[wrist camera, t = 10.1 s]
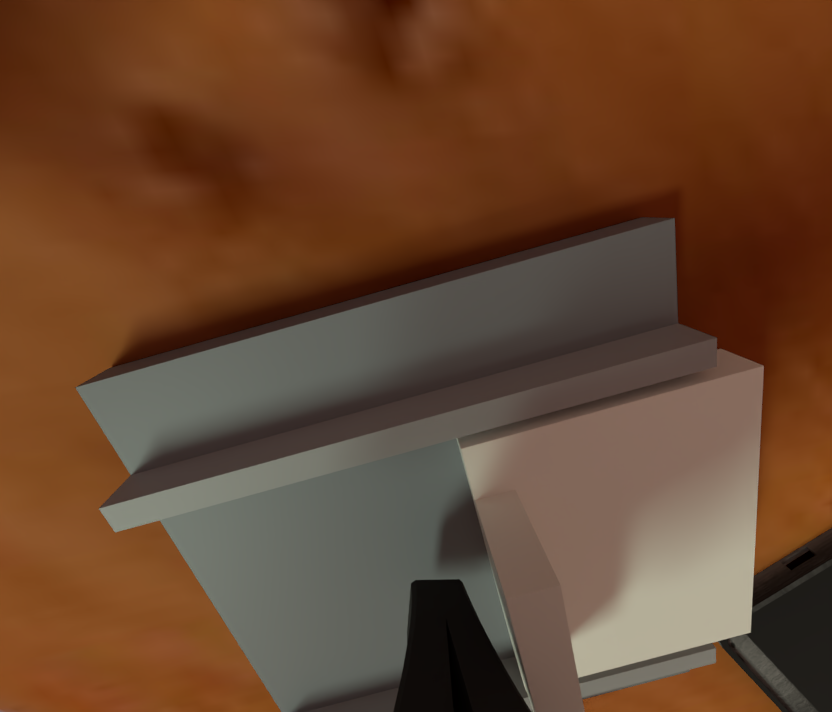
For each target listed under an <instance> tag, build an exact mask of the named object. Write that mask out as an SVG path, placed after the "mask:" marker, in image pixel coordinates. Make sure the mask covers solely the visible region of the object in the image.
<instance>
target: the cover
mask: <svg viewBox="0 0 832 712" xmlns="http://www.w3.org/2000/svg"><path fill="white" fill-rule="evenodd" d="M763 375H764V366H763V365H761V364H758V363H756V362H753V361H751V360H748V359H746V358H743V357H741V356H738V355H736V354H733V353H731V352H728V351H726V350H723V349H718V350H717V367H714V368H711V369H707V370H703V371H700V372H696V373H692V374H689V375H685V376H682V377H678V378H674V379H671V380H667V381H663V382H660V383H656V384H652V385H649V386H645V387H642V388H638V389H634V390H631V391H627V392H623V393H620V394H616V395H613V396H609V397H605V398H602V399H598V400H594V401H591V402H587V403H583V404H580V405H576V406H573V407H569V408H565V409H562V410H558V411H554V412H551V413H547V414H543V415H540V416H536V417H533V418H529V419H525V420H522V421H518V422H514V423H511V424H507V425H503V426H500V427H496V428H493V429H489V430H485V431H482V432H478V433H474V434H471V435H467V436H464V437H460V438H457V442H458V446H459V449H460V453H461V457H462V461H463V464H464V468H465V472H466V475H467V479H468V483H469V486H470V490H471V494H472V498H473V501H474V505H475V509H476V512H477V516H478V520H479V524H480V527H481V531H482V535H483V538H484V542H485V546H486V550H487V553H488V557H489V561H490V564H491V568H492V572H493V576H494V579H495V583H496V587H497V590H498V594H499V598H500V602H501V605H502V609H503V613H504V616H505V620H506V624H507V628H508V631H509V635H510V639H511V642H512V646H513V650H514V653H515V657H516V660H517V663H518V667H519V670H520V673H521V677H522V680H523V684H524V687H525V690H526V691H527V694H528V697H529V700H530V704H531V707H532V710H533V712H585V711H584V706H583V701H582V696H581V690H580V685H579V680H578V678H579V677H583V676H587V675H591V674H594V673H598V672H602V671H606V670H610V669H614V668H617V667H621V666H625V665H629V664H633V663H636V662H640V661H644V660H648V659H652V658H656V657H659V656H663V655H667V654H671V653H675V652H678V651H682V650H686V649H690V648H694V647H698V646H701V645H705V644H709V643H713V642H717V641H720V640H724V639H728V638H732V637H736V636H740V635H743V634H747V633H751V617H752V597H753V577H754V557H755V536H756V516H757V496H758V476H759V456H760V435H761V415H762V395H763Z"/></svg>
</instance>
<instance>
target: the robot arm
mask: <svg viewBox="0 0 832 712" xmlns="http://www.w3.org/2000/svg"><path fill="white" fill-rule="evenodd" d="M393 712H531V710H530V709H529V707H528V706H527V704H526V702H525V701H524V699H523V697H522V696H521V694H520V693H519V691H518V689H517V688H516V686H515V684H514V682H513V681H512V679H511V677H510V676H509V674H508V672H507V670H506V669H505V667H504V665H503V663H502V661H501V660H500V658H499V656H498V654H497V652H496V651H495V649H494V647H493V645H492V643H491V641H490V639H489V638H488V636H487V634H486V632H485V630H484V628H483V626H482V624H481V622H480V620H479V618H478V616H477V614H476V611H475V609H474V607H473V605H472V603H471V601H470V598H469V596H468V594H467V591H466V589H465V587H464V584H463V582H462V581H461V580H460V579H442V580H415V581H413V582H412V583H411V588H410V601H409V613H408V626H407V648H406V654H405V660H404V666H403V671H402V676H401V680H400V685H399V689H398V693H397V698H396V702H395V706H394V711H393Z"/></svg>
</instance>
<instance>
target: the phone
mask: <svg viewBox="0 0 832 712" xmlns="http://www.w3.org/2000/svg"><path fill="white" fill-rule="evenodd" d="M808 551H811V552H812V553H813V554H815V556H813V557H812V558H810V559H809V560H807V561H805V562H804V563H802V564H800V565H799V566H797V567H796V568H794V569H792V570H790V569H789V568H788V567H787V566H786V565H787V564H788V563H790V562H792V561H793V560H795V559H796V558H798V557H800V556H801V555H803V554H805V553H806V552H808ZM718 642H719V643H720V645H721V646H722V647H723V648H724V650H725V651H726V652H727V653H728V654H729V655H730V656H731V657H732V658H733V659H734V660H735V661H736V662H737V664H738V665H739V666H740V667H741V668H742V669H743V670H744V671H745V672H746V673H747V674H748V675H749V676H750V677H751V679H752V680H753V681H754V682H755V683H756V684H757V685H758V686H759V687H760V688H761V689H762V690H763V691H764V693H765V694H766V695H767V696H768V697H769V698H770V699H771V700H772V701H773V702H774V703H775V704H776V705H777V706H778V708H779V709H780V710H781V711H782V712H832V528H831V529H829V530H828V531H826V532H825V533H823V534H821V535H820V536H818V537H816V538H815V539H813V540H812V541H810V542H808V543H807V544H805V545H804V546H802V547H800V548H799V549H797V550H795V551H794V552H792V553H791V554H789V555H787V556H786V557H784V558H782V559H781V560H779V561H778V562H776V563H774V564H773V565H771V566H770V567H768V568H766V569H765V570H763V571H761V572H760V573H758V574H757V575H755V576H754V577H753V597H752V617H751V633H747V634H743V635H740V636H736V637H732V638H728V639H724V640H720V641H718Z"/></svg>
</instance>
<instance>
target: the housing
mask: <svg viewBox="0 0 832 712" xmlns="http://www.w3.org/2000/svg"><path fill="white" fill-rule="evenodd" d="M714 367H717V338H716V337H714V336H711V335H708V334H706V333H703V332H700V331H698V330H695V329H692V328H690V327H687V326H684V325H682V324H679V323H678V305H677V274H676V244H675V218H648V217H641V218H638V219H634V220H631V221H627V222H624V223H620V224H617V225H613V226H609V227H606V228H602V229H599V230H595V231H592V232H588V233H585V234H581V235H578V236H574V237H571V238H567V239H564V240H560V241H557V242H553V243H549V244H546V245H542V246H539V247H535V248H532V249H528V250H525V251H521V252H518V253H514V254H511V255H507V256H504V257H500V258H497V259H493V260H489V261H486V262H482V263H479V264H475V265H472V266H468V267H465V268H461V269H458V270H454V271H451V272H447V273H444V274H440V275H437V276H433V277H429V278H426V279H422V280H419V281H415V282H412V283H408V284H405V285H401V286H398V287H394V288H391V289H387V290H384V291H380V292H377V293H373V294H369V295H366V296H362V297H359V298H355V299H352V300H348V301H345V302H341V303H338V304H334V305H331V306H327V307H324V308H320V309H317V310H313V311H309V312H306V313H302V314H299V315H295V316H292V317H288V318H285V319H281V320H278V321H274V322H271V323H267V324H264V325H260V326H257V327H253V328H249V329H246V330H242V331H239V332H235V333H232V334H228V335H225V336H221V337H218V338H214V339H211V340H207V341H204V342H200V343H197V344H193V345H190V346H186V347H182V348H179V349H175V350H172V351H168V352H165V353H161V354H158V355H154V356H151V357H147V358H144V359H140V360H137V361H133V362H130V363H126V364H122V365H119V366H115V367H112V368H109V369H107V370H105V371H104V372H102V373H100V374H98V375H97V376H95V377H93V378H91V379H90V380H88V381H86V382H84V383H82V384H81V385H79V386H77V387H75V388H76V389H77V391H78V392H79V394H80V395H81V397H82V399H83V400H84V402H85V403H86V405H87V406H88V408H89V410H90V411H91V413H92V414H93V416H94V418H95V419H96V421H97V422H98V424H99V425H100V427H101V429H102V430H103V432H104V433H105V435H106V436H107V438H108V440H109V441H110V443H111V444H112V446H113V447H114V449H115V451H116V452H117V454H118V455H119V457H120V458H121V460H122V462H123V463H124V465H125V466H126V468H127V469H128V471H129V473H130V474H131V476H130V477H129V478H128V479H127V480H126V481H125V482H124V483H123V484H122V485H121V486H120V487H119V488H118V489H117V490H116V491H115V492H114V493H113V494H112V495H111V496H110V498H109V499H108V500H107V501H106V502H105V503H104V504H103V505H102V506H101V507H100V508H99V510H100V511H101V513H102V514H103V515H104V517H105V518H106V520H107V521H108V523H109V524H110V525H111V527H112V528H113V530H114V531H115V532H118V531H122V530H126V529H129V528H133V527H136V526H140V525H144V524H147V523H151V522H155V521H158V520H160V521H161V523H162V524H163V526H164V528H165V529H166V531H167V532H168V534H169V535H170V537H171V539H172V540H173V542H174V543H175V545H176V547H177V548H178V550H179V551H180V553H181V554H182V556H183V558H184V559H185V561H186V562H187V564H188V565H189V567H190V569H191V570H192V572H193V573H194V575H195V576H196V578H197V580H198V581H199V583H200V584H201V586H202V587H203V589H204V591H205V592H206V594H207V595H208V597H209V598H210V600H211V602H212V603H213V605H214V606H215V608H216V609H217V611H218V613H219V614H220V616H221V617H222V619H223V620H224V622H225V624H226V625H227V627H228V628H229V630H230V631H231V633H232V635H233V636H234V638H235V639H236V641H237V642H238V644H239V646H240V647H241V649H242V650H243V652H244V653H245V655H246V657H247V658H248V660H249V661H250V663H251V665H252V666H253V668H254V669H255V671H256V672H257V674H258V676H259V677H260V679H261V680H262V682H263V683H264V685H265V687H266V688H267V690H268V691H269V693H270V694H271V696H272V698H273V699H274V701H275V702H276V704H277V705H278V707H279V709H280V710H281V712H393V711H394V706H395V702H396V698H397V693H398V689H399V685H400V680H401V676H402V671H403V666H404V660H405V654H406V648H407V626H408V613H409V601H410V588H411V583H412V582H413V581H415V580H442V579H460V580H461V581H462V582H463V584H464V587H465V589H466V591H467V594H468V596H469V598H470V601H471V603H472V605H473V607H474V609H475V611H476V614H477V616H478V618H479V620H480V622H481V624H482V626H483V628H484V630H485V632H486V634H487V636H488V638H489V639H490V641H491V643H492V645H493V647H494V649H495V651H496V652H497V654H498V656H499V658H500V660H501V661H502V663H503V665H504V667H505V669H506V670H507V672H508V674H509V676H510V677H511V679H512V681H513V682H514V684H515V686H516V688H517V689H518V691H519V693H520V694H521V696H522V697H523V699H524V701H525V702H526V704H527V706H528V707H529V709H530V710H531V712H533V710H532V707H531V704H530V700H529V697H528V694H527V691H526V690H525V687H524V684H523V680H522V677H521V673H520V670H519V667H518V663H517V660H516V657H515V653H514V650H513V646H512V642H511V639H510V635H509V631H508V628H507V624H506V620H505V616H504V613H503V609H502V605H501V602H500V598H499V594H498V590H497V587H496V583H495V579H494V576H493V572H492V568H491V564H490V561H489V557H488V553H487V550H486V546H485V542H484V538H483V535H482V531H481V527H480V524H479V520H478V516H477V512H476V509H475V505H474V501H473V498H472V494H471V490H470V486H469V483H468V479H467V475H466V472H465V468H464V464H463V461H462V457H461V453H460V449H459V446H458V442H457V438H460V437H464V436H467V435H471V434H474V433H478V432H482V431H485V430H489V429H493V428H496V427H500V426H503V425H507V424H511V423H514V422H518V421H522V420H525V419H529V418H533V417H536V416H540V415H543V414H547V413H551V412H554V411H558V410H562V409H565V408H569V407H573V406H576V405H580V404H583V403H587V402H591V401H594V400H598V399H602V398H605V397H609V396H613V395H616V394H620V393H623V392H627V391H631V390H634V389H638V388H642V387H645V386H649V385H652V384H656V383H660V382H663V381H667V380H671V379H674V378H678V377H682V376H685V375H689V374H692V373H696V372H700V371H703V370H707V369H711V368H714ZM713 663H716V648H715V646H714V645H713V644H712V643H709V644H705V645H701V646H698V647H694V648H690V649H686V650H682V651H678V652H675V653H671V654H667V655H663V656H659V657H656V658H652V659H648V660H644V661H640V662H636V663H633V664H629V665H625V666H621V667H617V668H614V669H610V670H606V671H602V672H598V673H594V674H591V675H587V676H583V677H579V678H578V680H579V685H580V690H581V696H582V699H586V698H589V697H593V696H597V695H601V694H605V693H609V692H612V691H616V690H620V689H624V688H628V687H632V686H635V685H639V684H643V683H647V682H651V681H655V680H658V679H662V678H666V677H670V676H674V675H678V674H681V673H685V672H689V671H690V669H694V668H697V667H701V666H705V665H709V664H713Z"/></svg>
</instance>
